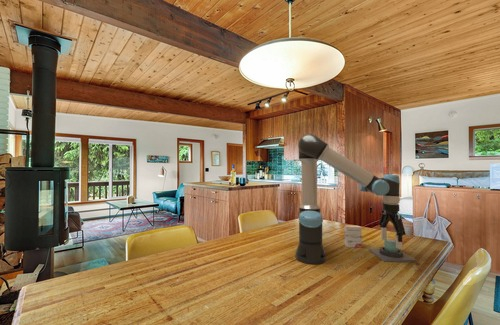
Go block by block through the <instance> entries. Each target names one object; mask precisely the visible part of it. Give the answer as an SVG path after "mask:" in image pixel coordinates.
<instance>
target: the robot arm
mask: <svg viewBox="0 0 500 325" xmlns="http://www.w3.org/2000/svg"><path fill="white" fill-rule="evenodd" d="M297 147H298V161H299V162H301V163H300V164H301V169H300V170H301V204H300V205H299V210H298V212H299V213H298V244H297V248H296V250H295V260H297V261H299V262H301V263H304V264H308V265H320V264H323V263H325V262H326V261H327V258H326V257H327V255H326V252H325V249H324V245H323V223H324V222H323V221H324V219H323V215H322V213H321V206H320V205H318V204H319V203H318V162H319V160H320V161H322V162H323V163H325V164H327V165H328V166H330V167H332V168H333V169H335V170H337V171H338V172H340V173H341V174H343V175H344V176H346V177H348V178H349V179H350V180H352V181H354V182H355V183H357V184H358V188H359V191H360V192H363V193H364V192H365V193H372V194H374V195H376V196H383V197H382V199H383V200H382V202H383V206H382V209H383V210H381V215H380V218H379V222H378V226H380V230H381V232H380V237H381V238H380V239H381V240H382V241H383V240H384V241H385V239H388V227H387V225H388V224H389V222H390V223H391V224H392V225H393V227H394V229H395V232H396V234H395V240H396V248H398V249H403V236H406V234H407V233H406V230H405V227H404V224H403V218H402V214H398V212H400V199H401V197H400V185H401V183H400V182H401V181H400V176H399V175H398V174H392V173H391V174H388V173H387V174H383V175H382V176H383V177H378V176H376V175H374V174H373V173H371V172H370V171H368V170H366V169H365V168H364V167H362V166H361V165H358V164H357V163H355V162H353V160H350V159H349V158H347V157H346V156H344V155H342V154H341V153H339V152H338V151H336V150H334V149H333V148H332V147H330V146H329V143H327V142H326V141H324V140H323V139H321V138H320V137H318V136H317V135H316V134H313V133H307V134H304V135H302V136H301V137H300V138H299V141H298V146H297Z"/></svg>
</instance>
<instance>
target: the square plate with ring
mask: <svg viewBox="0 0 500 325" xmlns="http://www.w3.org/2000/svg"><path fill="white" fill-rule="evenodd" d="M368 251H369V252H370V253H372V254H373V255H374V256H375V257H376V258H379V259H380V260H381V261H383V262H384V263H385V262H386V263H389V262H390V263H398V262H399V263H401V262H402V263H404V262H405V263H409V262H410V263H412V262H413V263H416V262H417V259H416V258H414V257H412V256H410V255H409V254H407V253H405V252H404V251H403V250H402V249H401V248H398V253H392V252H387V251H385V246H381V247H379V248H368Z"/></svg>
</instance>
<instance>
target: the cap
mask: <svg viewBox="0 0 500 325" xmlns="http://www.w3.org/2000/svg"><path fill="white" fill-rule="evenodd" d="M384 247H385V251H387V252H392V253H398V249H399V248H396V239H394V238H393V239H392V238H387V239H385V240H384Z"/></svg>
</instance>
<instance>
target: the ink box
mask: <svg viewBox="0 0 500 325" xmlns="http://www.w3.org/2000/svg"><path fill="white" fill-rule="evenodd" d="M362 236H363V235H362V227H361V226H359V225H348V224H347V225H344V246H345V247H346V248H360V249H361V248H362V246H363V245H362V244H363V243H362V239H363V238H362Z"/></svg>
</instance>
